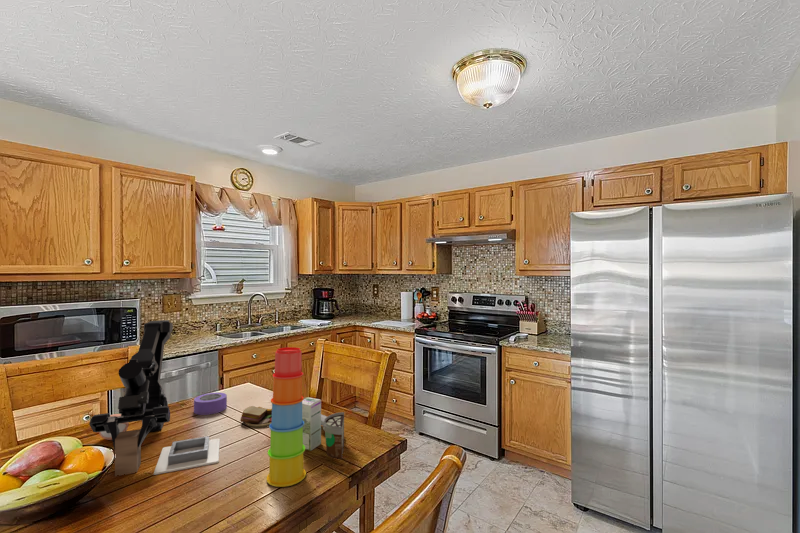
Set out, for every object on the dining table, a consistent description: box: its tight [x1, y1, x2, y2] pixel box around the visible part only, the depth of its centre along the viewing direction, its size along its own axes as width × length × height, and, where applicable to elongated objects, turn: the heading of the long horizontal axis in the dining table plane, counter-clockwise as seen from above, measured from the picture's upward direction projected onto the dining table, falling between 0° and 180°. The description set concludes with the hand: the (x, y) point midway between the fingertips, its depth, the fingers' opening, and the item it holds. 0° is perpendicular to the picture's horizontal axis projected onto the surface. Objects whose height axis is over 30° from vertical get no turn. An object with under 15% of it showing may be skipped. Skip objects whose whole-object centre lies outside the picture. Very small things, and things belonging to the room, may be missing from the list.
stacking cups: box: [266, 346, 307, 488], centre depth 103 cm, size 10×10×35 cm
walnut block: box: [114, 428, 142, 477], centre depth 107 cm, size 5×5×10 cm
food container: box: [322, 411, 345, 460], centre depth 117 cm, size 12×6×10 cm, turn 5°
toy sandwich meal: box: [240, 405, 272, 428], centre depth 141 cm, size 12×14×5 cm
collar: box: [168, 435, 210, 465], centre depth 115 cm, size 10×10×2 cm
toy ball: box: [98, 413, 130, 441], centre depth 126 cm, size 8×8×8 cm
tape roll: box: [193, 392, 228, 416], centre depth 152 cm, size 12×12×5 cm
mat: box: [153, 438, 221, 476], centre depth 115 cm, size 16×16×1 cm
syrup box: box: [302, 396, 322, 452], centre depth 121 cm, size 6×6×14 cm
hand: (127, 448), depth 105 cm, fingers closed on walnut block, 5 cm apart
